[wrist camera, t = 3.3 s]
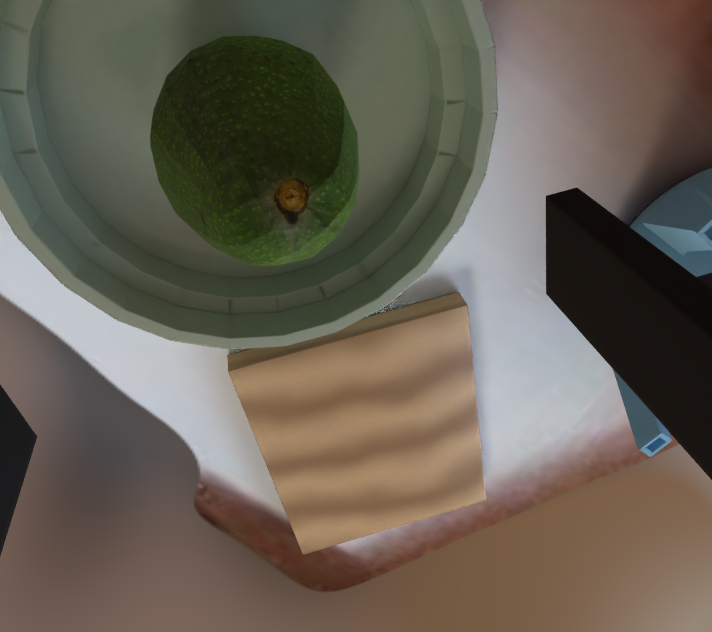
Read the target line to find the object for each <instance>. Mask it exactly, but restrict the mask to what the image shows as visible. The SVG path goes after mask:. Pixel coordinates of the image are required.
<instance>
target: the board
mask: <svg viewBox="0 0 712 632" xmlns="http://www.w3.org/2000/svg"><path fill="white" fill-rule="evenodd" d="M227 358H228V372H229V375H230V377H231V379H232V382H233V384H234V387H235V389H236V392H237V394H238V397H239V399H240V401H241V404H242V406H243V409H244V411H245V414H246V416H247V419H248V421H249V423H250V426H251V428H252V431H253V433H254V436H255V438H256V441H257V443H258V446H259V448H260V450H261V453H262V455H263V458H264V460H265V463H266V465H267V468H268V470H269V472H270V475H271V477H272V480H273V482H274V485H275V487H276V490H277V492H278V495H279V497H280V499H281V502H282V504H283V507H284V509H285V512H286V514H287V517H288V519H289V521H290V524H291V526H292V529H293V531H294V534H295V536H296V539H297V541H298V543H299V546H300V548H301V551H302V553H303V554H307V553H310V552H314V551H317V550H320V549H324V548H327V547H331V546H334V545H337V544H341V543H344V542H347V541H351V540H354V539H357V538H361V537H364V536H367V535H371V534H374V533H378V532H381V531H384V530H388V529H391V528H394V527H398V526H401V525H404V524H408V523H411V522H415V521H418V520H421V519H425V518H428V517H431V516H435V515H438V514H441V513H445V512H448V511H452V510H455V509H458V508H462V507H465V506H468V505H472V504H475V503H478V502H482V501H485V500H486V496H485V485H484V474H483V464H482V453H481V443H480V432H479V422H478V411H477V401H476V390H475V380H474V369H473V359H472V348H471V337H470V327H469V316H468V306H467V304H466V302H465V301H464V299H463V298H462V296H461V295H460V293H459V292H456V293H452V294H449V295H445V296H441V297H438V298H434V299H430V300H427V301H423V302H420V303H416V304H412V305H409V306H405V307H401V308H398V309H394V310H391V311H387V312H383V313H380V314H376V315H372V316H369V317H365V318H362V319H361V320H359V321H357V322H355V323H353V324H351V325H349V326H347V327H345V328H343V329H341V330H339V331H337V332H335V333H331V334H328V335H324V336H321V337H317V338H313V339H310V340H306V341H302V342H299V343H295V344H292V345H288V346H282V347H265V348H252V349H249V350H245V351H242V352H238V353H234V354H231V355H228V356H227Z"/></svg>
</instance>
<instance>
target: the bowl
mask: <svg viewBox="0 0 712 632" xmlns="http://www.w3.org/2000/svg"><path fill="white" fill-rule="evenodd" d="M223 36H261V37H268V38H272V39H277V40H282V41H284V42H286V43H289V44H291V45H293V46H295V47H298V48H300V49H302V50H304V51H307V52H309V53H311V54H314V56H315V57H316V58H317V60H318V61H319V62H320V64H321V65H322V66H323V68H324V69H325V70H326V72H327V73H328V74H329V76H330V77H331V78H332V80H333V81H334V82H335V84H336V85H337V87H338V89H339V91H340V93H341V95H342V98H343V100H344V102H345V105H346V107H347V109H348V112H349V114H350V117H351V119H352V121H353V124H354V126H355V129H356V131H357V134H358V152H359V179H358V187H357V194H356V200H355V205H354V207H353V209H352V212H351V215H350V216H349V218H348V220H347V221H346V223H345V225H344V226H343V228H342V230H341V232H340V233H339V235H338V236H337V237H336V238H334V239H333V240H332V241H331V242H330V243H329V244H328V245H326V246H325V247H324V248H323V249H322V250H321V251H320V252H318V253H317V254H316V255H315V256H314V257H311V258H307V259H303V260H299V261H295V262H290V263H286V264H282V265H274V266H257V265H252V264H249V263H245V262H242V261H239V260H237V259H235V258H233V257H231V256H229V255H227V254H226V253H224V252H222V251H219V250H217V249H215V248H214V247H212V246H211V245H210V244H209V243H208V242H206V241H205V240H204V239H203V238H202V237H200V236H199V235H198V234H197V233H196V232H195V231H194V230H193V229H192V228H191V227H190V226H189V225H188V224H187V223H186V222H184V221H183V220H182V219H181V218H180V217H179V216H178V215H177V214H176V213H175V211H174V209H173V208H172V206H171V204H170V202H169V200H168V198H167V196H166V194H165V193H164V191H163V189H162V187H161V185H160V183H159V180H158V176H157V172H156V168H155V164H154V159H153V155H152V151H151V147H150V133H151V124H152V116H153V110H154V107H155V104H156V102H157V99H158V97H159V94H160V92H161V89H162V87H163V84H164V81H165V79H166V76H167V75H168V74H169V73H170V72H171V71H172V70H173V69H174V68H175V67H176V65H177V64H178V63H179V62H180V61H181V60H182V59H183V58H184V57H185V56H186V55H187V54H188V53H189V52H190V51H191V50H193V49H196V48H198V47H200V46H203V45H205V44H207V43H209V42H212V41H214V40H216V39H218V38H221V37H223ZM497 111H498V102H497V81H496V60H495V46H494V41H493V38H492V34H491V31H490V28H489V25H488V21H487V18H486V15H485V12H484V8H483V5H482V2H481V0H0V210H1V212H2V213H3V215H4V217H5V218H6V220H7V222H8V224H9V225H10V227H11V229H12V231H13V232H14V234H15V235H16V236H17V238H18V239H19V240H20V241H21V242H22V243H23V244H24V245H25V246H26V247H27V248H28V249H29V250H30V251H31V252H32V253H33V254H34V255H35V257H36V258H37V259H38V260H39V261H40V262H41V263H42V264H43V265H44V266H45V267H46V268H47V269H48V270H49V271H50V272H51V273H52V274H53V275H54V276H55V277H56V278H57V279H58V280H59V281H60V282H61V284H64V286H65V287H67V288H68V289H70V290H71V291H73V292H74V293H76V294H77V295H79V296H81V297H82V298H84V299H85V300H87V301H88V302H90V303H91V304H93V305H94V306H96V307H97V308H99V309H100V310H102V311H104V312H105V313H107V314H108V315H110V316H111V317H113V318H114V319H117V320H118V321H120V322H123V323H126V324H128V325H131V326H134V327H136V328H139V329H142V330H144V331H147V332H150V333H152V334H155V335H157V336H160V337H163V338H165V339H168V340H171V341H172V340H173V341H176V342H183V343H190V344H196V345H203V346H210V347H216V348H223V349H230V350H232V349H249V348H265V347H282V346H288V345H292V344H295V343H299V342H302V341H306V340H310V339H313V338H317V337H321V336H324V335H328V334H331V333H335V332H337V331H339V330H341V329H343V328H345V327H347V326H349V325H351V324H353V323H355V322H357V321H359V320H361V319H362V318H364V317H366V316H368V315H370V314H372V313H374V312H376V311H378V310H380V309H382V308H384V306H387V305H388V304H389V303H390V302H392V301H393V300H394V299H395V298H396V297H398V296H399V295H400V294H401V293H402V292H404V291H405V290H406V289H407V288H408V287H410V286H411V285H412V284H413V283H414V282H416V281H417V280H418V279H419V278H420V277H422V276H423V275H424V274H425V273H426V272H427V271H428V270H429V269H430V267H431V266H432V265H433V263H434V262H435V261H436V260H437V258H438V257H439V256H440V254H441V253H442V252H443V250H444V249H445V248H446V247H447V245H448V244H449V243H450V241H451V240H452V239H453V237H454V236H455V235H456V234H457V232H458V231H459V230H460V228H461V227H462V225H463V223H464V221H465V219H466V217H467V214H468V212H469V210H470V208H471V206H472V204H473V201H474V199H475V197H476V195H477V193H478V190H479V188H480V186H481V184H482V182H483V179H484V177H485V175H486V170H487V165H488V160H489V155H490V150H491V145H492V140H493V135H494V130H495V124H496V119H497Z"/></svg>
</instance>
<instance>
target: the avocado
mask: <svg viewBox="0 0 712 632" xmlns="http://www.w3.org/2000/svg"><path fill="white" fill-rule="evenodd" d="M150 147H151V151H152V155H153V159H154V164H155V168H156V172H157V176H158V180H159V183H160V185H161V187H162V189H163V191H164V193H165V194H166V196H167V198H168V200H169V202H170V204H171V206H172V208H173V209H174V211H175V213H176V214H177V215H178V216H179V217H180V218H181V219H182V220H183V221H184V222H186V223H187V224H188V225H189V226H190V227H191V228H192V229H193V230H194V231H195V232H196V233H197V234H198V235H199V236H200V237H202V238H203V239H204V240H205V241H206V242H208V243H209V244H210V245H211V246H212V247H214V248H215V249H217V250H219V251H222V252H224V253H226V254H227V255H229V256H231V257H233V258H235V259H237V260H239V261H242V262H245V263H249V264H252V265H257V266H274V265H282V264H286V263H290V262H295V261H299V260H303V259H307V258H311V257H314V256H315V255H316V254H317V253H318V252H320V251H321V250H322V249H323V248H324V247H325V246H326V245H328V244H329V243H330V242H331V241H332V240H333V239H334V238H336V237H337V236H338V235H339V233H340V232H341V230H342V228H343V226H344V225H345V223H346V221H347V220H348V218H349V216H350V215H351V212H352V209H353V207H354V205H355V200H356V194H357V187H358V179H359V152H358V134H357V131H356V129H355V126H354V124H353V121H352V119H351V117H350V114H349V112H348V109H347V107H346V105H345V102H344V100H343V98H342V95H341V93H340V91H339V89H338V87H337V85H336V84H335V82H334V81H333V80H332V78H331V77H330V76H329V74H328V73H327V72H326V70H325V69H324V68H323V66H322V65H321V64H320V62H319V61H318V60H317V58H316V57H315V56H314V54H311V53H309V52H307V51H304V50H302V49H300V48H298V47H295V46H293V45H291V44H289V43H286V42H284V41H282V40H277V39H272V38H268V37H261V36H223V37H221V38H218V39H216V40H214V41H212V42H209V43H207V44H205V45H203V46H200V47H198V48H196V49H193V50H191V51H190V52H189V53H188V54H187V55H186V56H185V57H184V58H183V59H182V60H181V61H180V62H179V63H178V64H177V65H176V67H175V68H174V69H173V70H172V71H171V72H170V73H169V74H168V75H167V76H166V79H165V81H164V84H163V87H162V89H161V92H160V94H159V97H158V99H157V102H156V104H155V107H154V110H153V116H152V124H151V133H150Z"/></svg>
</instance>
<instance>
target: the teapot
mask: <svg viewBox="0 0 712 632" xmlns="http://www.w3.org/2000/svg"><path fill="white" fill-rule="evenodd" d="M630 228H632V229H633V230H634V231H636V232H637V233H638V234H640V235H641V236H642V237H644V238H645V239H646V240H648V241H649V242H650V243H652V244H653V245H654V246H656V247H657V248H658V249H660V250H661V251H662V252H664V253H665V254H666V255H668V256H669V257H670V258H672V259H673V260H674V261H676V262H677V263H678V264H680V265H681V266H682V267H684V268H685V269H686V270H688V271H689V272H690V273H692V274H693V275H694V276H696V277H698V276H701V275H705V274H708V273H712V168H710V169H707V170H705V171H702V172H700V173H698V174H696V175H694V176H692V177H690V178H688V179H686V180H684V181H682V182H680V183H679V184H677V185H676V186H674V187H672V188H671V189H669V190H668V191H666V192H665V193H663V194H662V195H661V196H660V197H658V198H657V199H656V200H655V201H653V202H652V203H651V204H650V205H649V206H648V207H647V208H646V209H645V210H644V211H643V212H642V213H641V214H640V215H639V216H638V217H637V218H636V219H635V221H634V222H633V223H632V224H631V225H630ZM613 371H614V374H615V377H616V380H617V383H618V387H619V390H620V393H621V396H622V400H623V403H624V406H625V409H626V412H627V416H628V419H629V422H630V425H631V429H632V432H633V435H634V438H635V441H636V445H637V447H638V448H639V450H641V451H642V452H644V453H645V454H647V455H648V456H650V457H651V456H653V455H654V454H655V453H657V452H658V451H659V450H661V449H662V448H663V447H665V446H666V445H667V444H669V443H670V442H671V441H673V440H672V439H671V438H670V432H669V431H668V430H667V429H666V428H665V427H664V426H663V424H662V423H661V422H660V421H659V420H658V419H657V418H656V417H655V415H654V414H653V413H652V412H651V411H650V410H649V409H648V408H647V406H646V405H645V404H644V403H643V402H642V401H641V400H640V399H639V397H638V396H637V395H636V394H635V393H634V392H633V391H632V390H631V388H630V387H629V386H628V385H627V384H626V383H625V382H624V381H623V379H622V378H621V377H620V376H619V375H618V374H617V373H616V372H615V370H614V369H613Z"/></svg>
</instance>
